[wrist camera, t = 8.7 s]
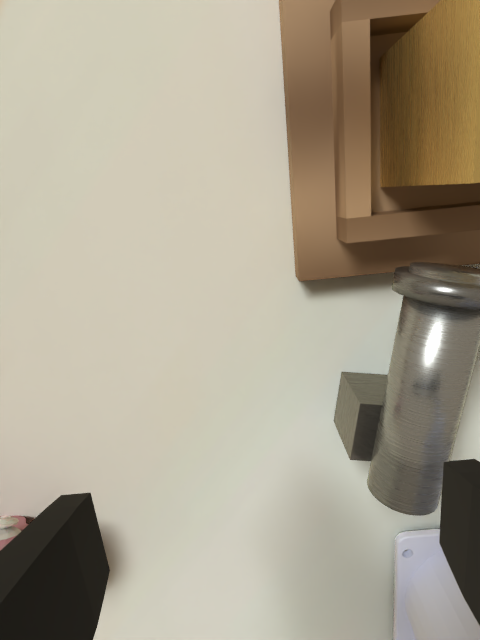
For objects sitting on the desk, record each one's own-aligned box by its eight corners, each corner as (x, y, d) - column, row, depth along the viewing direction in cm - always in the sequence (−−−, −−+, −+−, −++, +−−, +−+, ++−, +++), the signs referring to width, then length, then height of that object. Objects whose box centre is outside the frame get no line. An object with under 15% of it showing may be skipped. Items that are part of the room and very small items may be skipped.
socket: (548, 250, 16) (602, 260, 14) (295, 276, 17) (305, 290, 14) (586, -59, 13) (662, -114, 11) (277, -23, 14) (286, -69, 11)
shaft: (361, 248, 16) (422, 275, 11) (441, 254, 16) (541, 284, 11) (332, 426, 19) (371, 521, 13) (402, 431, 19) (469, 527, 13)
